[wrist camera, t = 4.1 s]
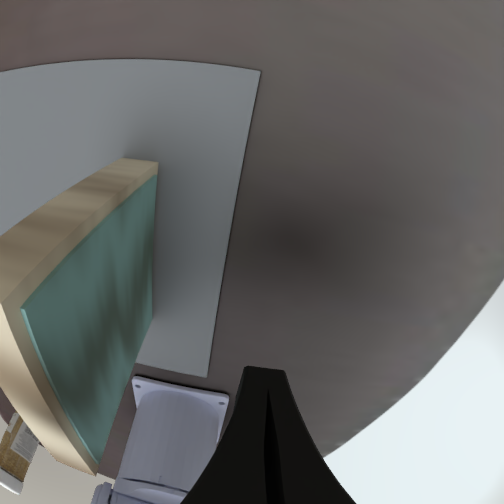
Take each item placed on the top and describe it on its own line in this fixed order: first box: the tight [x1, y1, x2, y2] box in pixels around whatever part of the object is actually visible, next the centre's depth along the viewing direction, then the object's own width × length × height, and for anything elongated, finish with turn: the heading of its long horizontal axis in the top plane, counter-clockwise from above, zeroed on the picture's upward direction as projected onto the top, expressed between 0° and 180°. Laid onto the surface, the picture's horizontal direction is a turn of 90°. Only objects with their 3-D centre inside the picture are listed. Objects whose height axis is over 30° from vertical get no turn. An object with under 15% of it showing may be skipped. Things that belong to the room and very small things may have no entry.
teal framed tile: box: [0, 158, 159, 476], centre depth 11 cm, size 10×2×11 cm, turn 169°
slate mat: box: [0, 59, 261, 378], centre depth 16 cm, size 20×22×1 cm
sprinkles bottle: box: [0, 411, 39, 495], centre depth 22 cm, size 5×5×13 cm
